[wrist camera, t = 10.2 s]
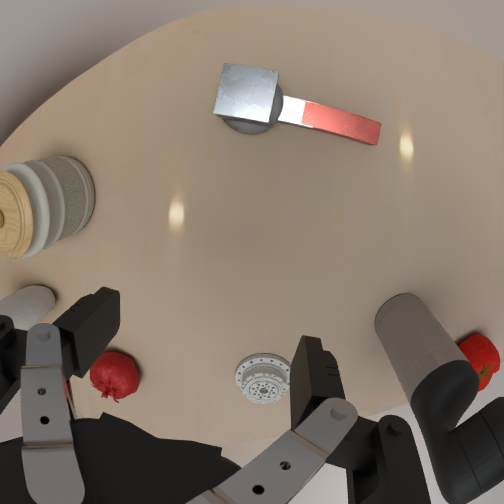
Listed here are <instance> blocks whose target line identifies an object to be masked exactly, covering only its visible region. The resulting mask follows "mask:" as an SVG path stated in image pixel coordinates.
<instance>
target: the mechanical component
mask: <svg viewBox="0 0 504 504" xmlns="http://www.w3.org/2000/svg"><path fill="white" fill-rule="evenodd" d="M290 368H291V366H290V364H289V363H288V362H287V361H286V360H284V359H283V358H281V357H279V356H277V355H272V354H256V355H252V356H250V357H247V358H246V359H244V360H243V361H242V362H240V364H239V366H238V367H237V371H236V377H235V378H236V383H237V384H238V386H239V387H240V388H241V390H242V392H243V394H244V397H247V398H248V399H249V400H252V402H256V403H257V404H260V403H262V404H263V405H264V404H265V403H271V402H272V403H275V401H277V400H279V399H280V398H283V396H284V395H285V392H286V391H287V390H288V389H289V388H290V379H289V374H290Z"/></svg>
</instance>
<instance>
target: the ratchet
mask: <svg viewBox="0 0 504 504" xmlns="http://www.w3.org/2000/svg"><path fill="white" fill-rule="evenodd" d="M223 120H224V122H225V123H226V124H227V125H229V126H230V127H232V128H233V129H235V130H237V131H239V132H242V133H246V134H257V133H262V132H264V131H266V130H268V129H270V128H271V127H272V126H274V125H275V124H276V122H282V123H287V124H291V125H296V126H300V127H304V128H308V129H315V130H319V131H323V132H327V133H331V134H334V135H338V136H342V137H345V138H349V139H352V140H355V141H359V142H362V143H365V144H368V145H377V143H378V138H379V133H380V128H381V123H379V122H376V121H373V120H370V119H367V118H364V117H361V116H358V115H355V114H351V113H348V112H345V111H341V110H338V109H334V108H331V107H327V106H323V105H319V104H317V103H313V102H309V101H305V100H301V99H297V98H292V97H287V96H283V93H282V90H281V88H280V87H279V85H278V86H277V90H276V95H275V100H274V104H273V109H272V114H271V119H270V124H269V127H265V126H260V125H254V124H249V123H243V122H237V121H231V120H225V119H223Z"/></svg>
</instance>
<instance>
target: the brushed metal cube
mask: <svg viewBox="0 0 504 504" xmlns="http://www.w3.org/2000/svg"><path fill="white" fill-rule="evenodd" d="M278 77H279V72H278V71H272V70H267V69H261V68H255V67H249V66H242V65H234V64H226V63H224V67H223V71H222V75H221V80H220V84H219V89H218V93H217V98H216V102H215V107H214V112H213V113H214V114H215V115H217V116H218V117H220V118H222V119H225V120H231V121H237V122H243V123H249V124H254V125H260V126H265V127H269V124H270V119H271V114H272V109H273V104H274V100H275V95H276V90H277V86H278Z"/></svg>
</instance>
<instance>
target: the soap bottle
mask: <svg viewBox="0 0 504 504" xmlns="http://www.w3.org/2000/svg"><path fill="white" fill-rule="evenodd" d="M54 304H55V298H54V295H53V292H52V291H51V290H50V289H49V288H46V287H43V286H36V285H32V286H27V287H25V288H23V289H20V290H18V291H16V292H15V293H13V294H11V295H9V296H7V297H6V298H4V299H2V300H1V301H0V315H7V316H9V317H10V318H12V320H13V323H14V327H15V328H16V329H21V330H27V331H29V329H30V328H31V327H33V326H34V325H36V324H38V323H39V322H40V321H41V320H42V319H43V318H44V317H45V316H46V315H47V314H48V312H49V311H50V310H51V309H52V308H53V306H54Z"/></svg>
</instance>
